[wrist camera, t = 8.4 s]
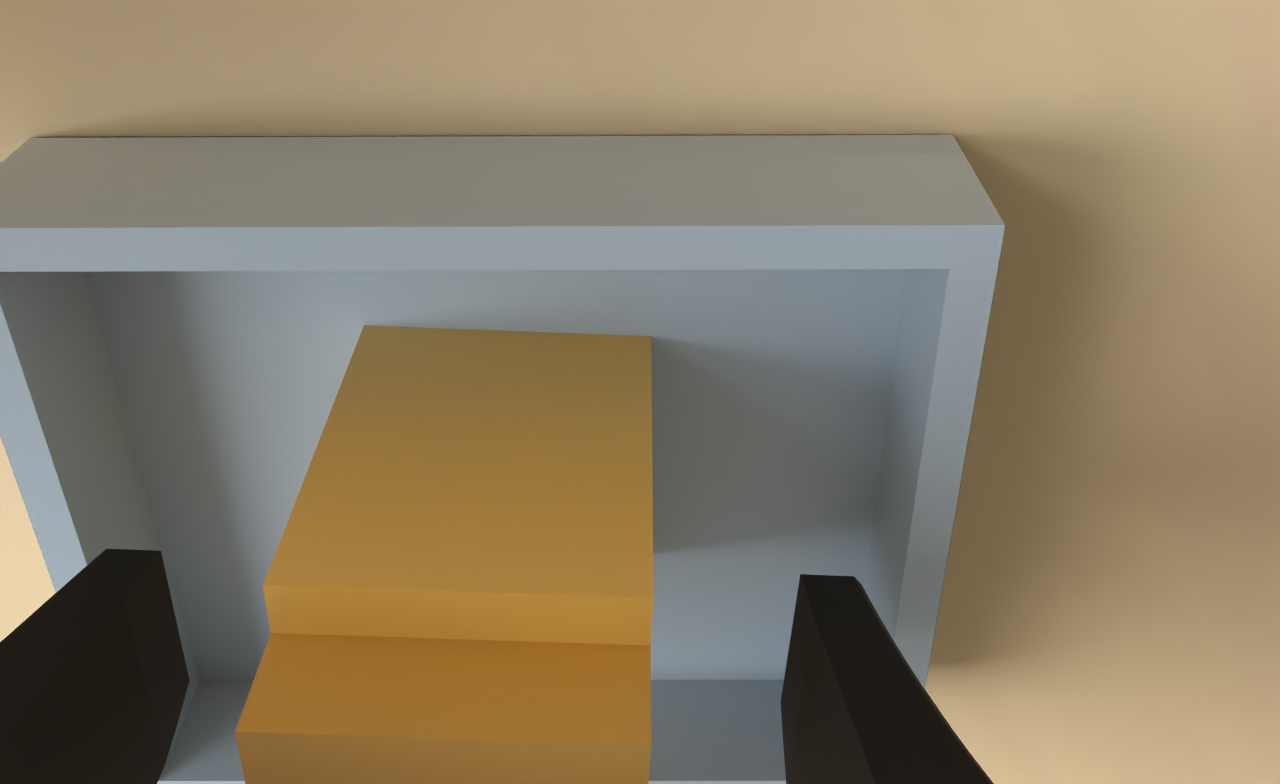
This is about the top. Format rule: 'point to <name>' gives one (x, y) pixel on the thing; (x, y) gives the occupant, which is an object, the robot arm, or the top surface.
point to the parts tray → (508, 301)
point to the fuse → (466, 570)
